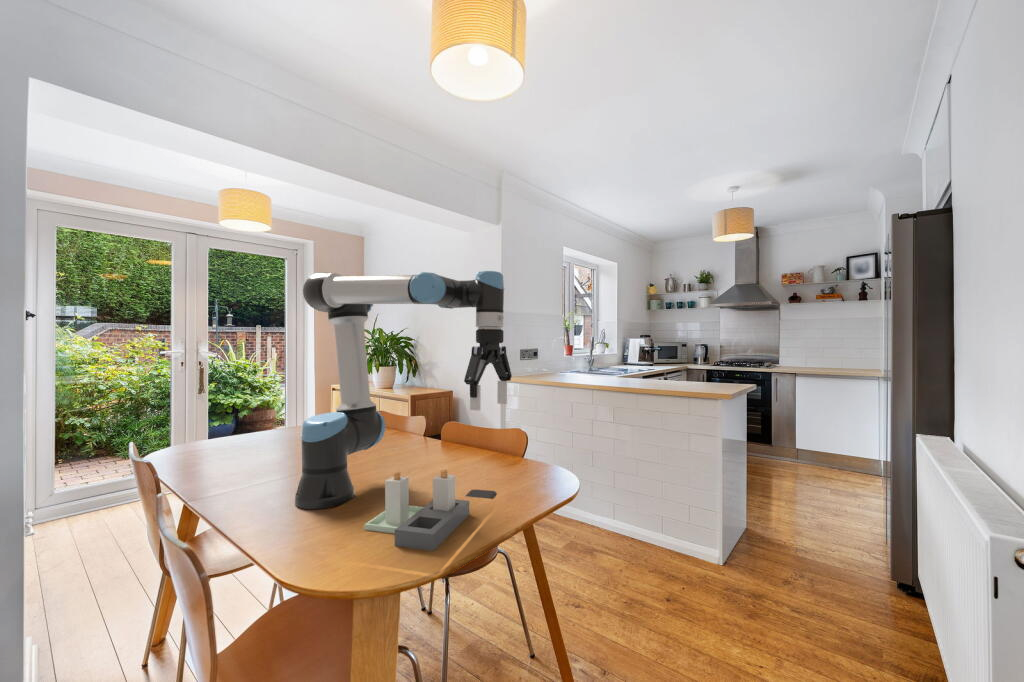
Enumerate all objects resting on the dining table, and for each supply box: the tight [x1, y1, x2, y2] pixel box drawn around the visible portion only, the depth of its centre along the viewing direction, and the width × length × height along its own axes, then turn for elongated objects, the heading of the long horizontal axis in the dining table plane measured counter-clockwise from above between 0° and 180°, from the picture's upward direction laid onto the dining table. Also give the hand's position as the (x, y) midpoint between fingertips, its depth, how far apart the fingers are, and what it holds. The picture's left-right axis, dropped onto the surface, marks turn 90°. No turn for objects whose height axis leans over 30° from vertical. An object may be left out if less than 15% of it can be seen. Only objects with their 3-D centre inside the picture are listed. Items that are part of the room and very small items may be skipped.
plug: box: [384, 471, 410, 525], centre depth 106 cm, size 4×4×12 cm
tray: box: [363, 505, 424, 535], centre depth 106 cm, size 9×13×2 cm
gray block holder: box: [394, 469, 470, 552], centre depth 101 cm, size 9×20×12 cm, turn 164°
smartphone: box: [465, 489, 497, 500], centre depth 120 cm, size 8×1×16 cm
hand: (489, 406), depth 119 cm, fingers open, 13 cm apart
